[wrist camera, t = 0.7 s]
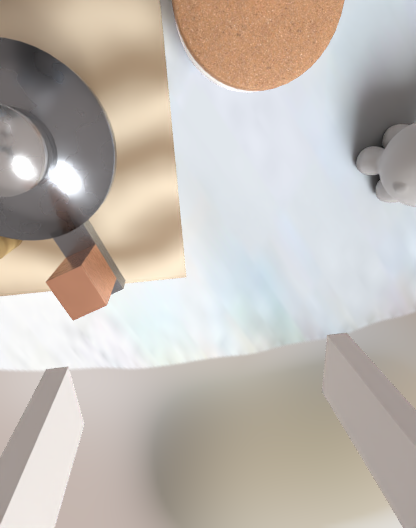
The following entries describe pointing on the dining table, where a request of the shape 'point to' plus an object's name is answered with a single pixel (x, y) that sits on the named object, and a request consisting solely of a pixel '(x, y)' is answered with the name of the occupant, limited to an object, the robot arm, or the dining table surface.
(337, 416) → the robot arm
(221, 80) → the lidded jar
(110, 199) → the flange base
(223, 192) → the dining table surface
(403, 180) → the round bodied animal figurine
